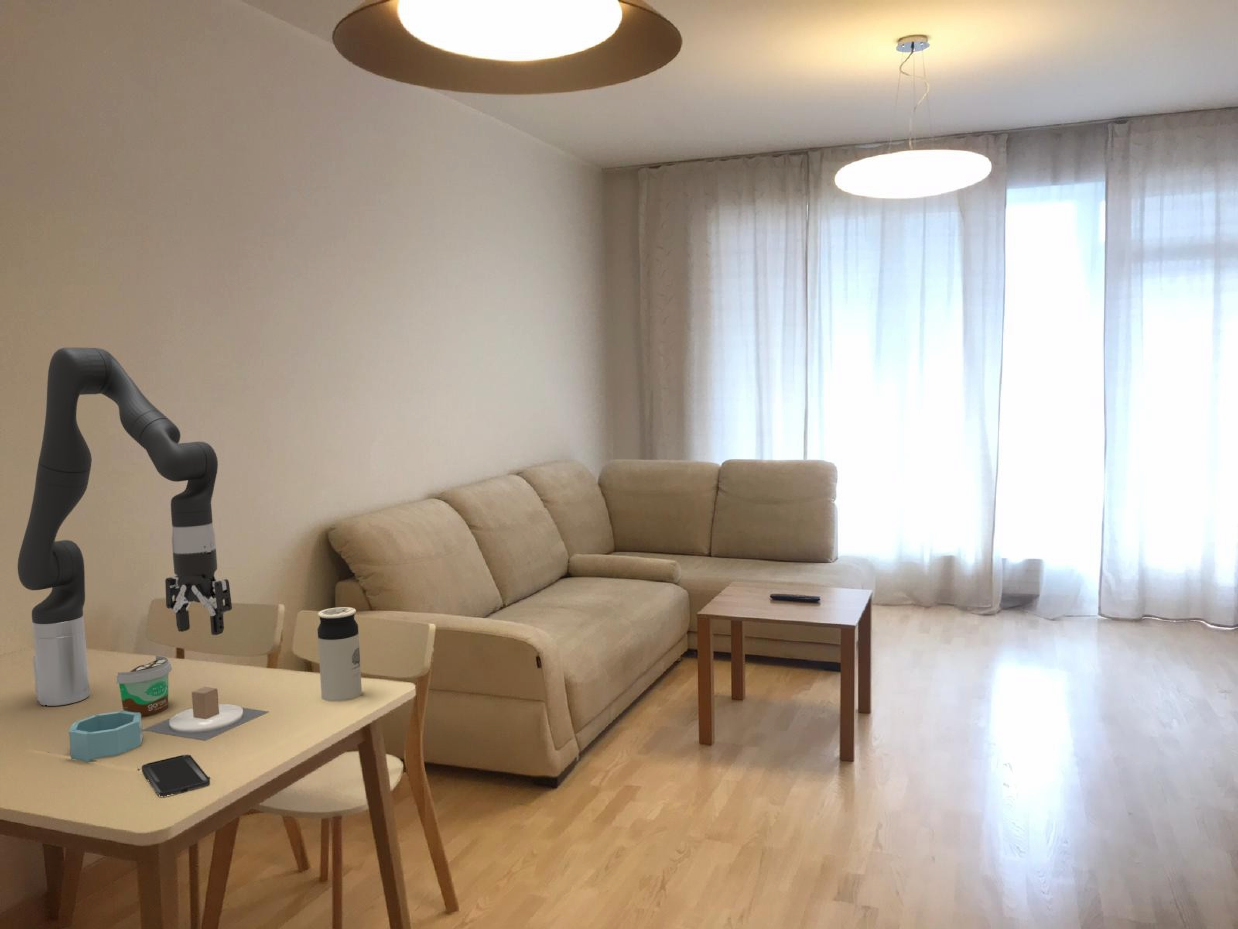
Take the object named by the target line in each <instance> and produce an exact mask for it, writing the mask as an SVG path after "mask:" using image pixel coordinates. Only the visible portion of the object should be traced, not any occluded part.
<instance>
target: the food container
mask: <svg viewBox="0 0 1238 929" xmlns="http://www.w3.org/2000/svg"><path fill="white" fill-rule="evenodd" d="M172 670H173V667H172V665H171V661H170V660H169V659H168V657H167V656H163V655H155V660H154V661H151V662H149V663H145V664H141V665H139V666H136V667H134V668H133V669H132V670H130V671H123V672H120V671H118V672H117V675H116V682H115V683H116V684H118V686H119V692H120V698H121V704H122V711H128V712H134V713H141V718H145V717H149V716H154V715H157V714H159V713H162V712H163V711H166V710H167V709H168V707H169V675H170V673H171V672H172Z"/></svg>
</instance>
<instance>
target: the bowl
mask: <svg viewBox="0 0 1238 929" xmlns="http://www.w3.org/2000/svg"><path fill="white" fill-rule="evenodd" d="M71 724H72V725H71V726H70V728H69V730H68V736H69V738H68V739H69V746H70V759H71V760H74V759H75V760H76V761H79V760H80V761H81V762H85V763H95V762H96V760H95V759H100V758H101V759H102V758H108V757H114V756H119V755H121V754H125V753H126V752H129V751H132V750H133V749H136V748H138V747H141V745H142V742H143V737H144V736H143V734H144V733H143V732H144V731H142V730H143V722H142V717H141V713H134V712H128V711H123V710H120V711H119V710H118V711H112V712H111V711H110V712H106V713H104V712H103V713H98V714H97V713H96V714H93V715H91V716H88V717H85V718H82V719H80V720H78V721H75V722H73V723H71ZM75 760H74V761H75Z"/></svg>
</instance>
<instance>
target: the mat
mask: <svg viewBox="0 0 1238 929" xmlns="http://www.w3.org/2000/svg"><path fill="white" fill-rule="evenodd" d="M241 708H242V709H243V717H242V719H241V720H239V721H238V722H236V723H234V724H232V725H230V726H227V727H224V728H221V729H217V730H212V731H207V732H199V733H181V732H176V731H173V730H171V729H170V725H169V720H170V719H171V718H172V717H170V718H167V719H165V720H163V721H161V722H157V723H155V724H152V725H150V726H147V727H146V728H142V732H151V733H155V734H160V735H161V734H162V735H167V736H173V737H179V738H180V737H181V738H186V739H192V740H198V741H203V742H205V741H208V740H210V739H212V738H215V737H218V735H221V734H223V733H225V732H228V731H230V730H232V729H235V728H237V727H239V726H240V725H243V724H245V723H248V722H250V721H252V720H255V719H258V717H262V716H264V715H266V714H268V713H270V711H268V710H261V709H255V708H247V707H241Z"/></svg>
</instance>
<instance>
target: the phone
mask: <svg viewBox="0 0 1238 929" xmlns="http://www.w3.org/2000/svg"><path fill="white" fill-rule="evenodd" d="M141 772H142V774H143V775H144V777H145V779H146V780H147V779H148V780H149V781H148V780H147V781H148V783H149V782H150V783H149V785H152V786H151V788H152V789H153V788H154V789H153V790H155V791H156V792H157V794H158V795H160V796H167V795H171V794H176V795H179V794H182V793H186V792H191V791H195V790H198V789H202V788H206V787H208V786H210V784H211V781H210V777H209V776H208V775H207V774H206V773H205V771H204V770H203V768H201V766H200V765H199V763H197V761H196V760H195V759H194V758H193V756H192V755H191V754H181V755H177V756H174V757H169V758H165V759H159V760H156V761H151V762H148V763H144V764H143V765H141ZM155 791H154V792H155ZM156 792H155V793H156ZM157 794H156V795H157ZM158 795H157V796H158Z"/></svg>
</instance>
